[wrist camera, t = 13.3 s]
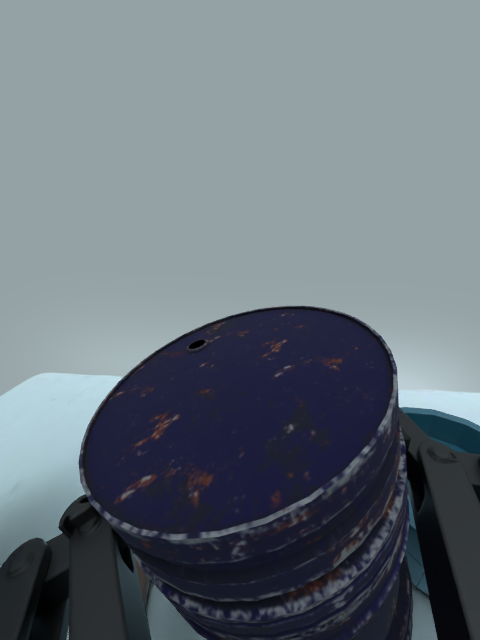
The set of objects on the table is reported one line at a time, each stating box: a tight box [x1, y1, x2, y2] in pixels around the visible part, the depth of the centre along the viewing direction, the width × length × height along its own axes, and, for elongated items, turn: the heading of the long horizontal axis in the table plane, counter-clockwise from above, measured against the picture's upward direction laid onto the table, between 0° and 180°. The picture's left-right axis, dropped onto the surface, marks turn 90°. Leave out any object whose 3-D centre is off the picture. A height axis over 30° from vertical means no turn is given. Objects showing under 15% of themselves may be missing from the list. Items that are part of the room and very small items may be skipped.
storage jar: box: [79, 306, 413, 640], centre depth 10 cm, size 10×10×15 cm
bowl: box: [401, 407, 480, 595], centre depth 15 cm, size 10×10×6 cm
